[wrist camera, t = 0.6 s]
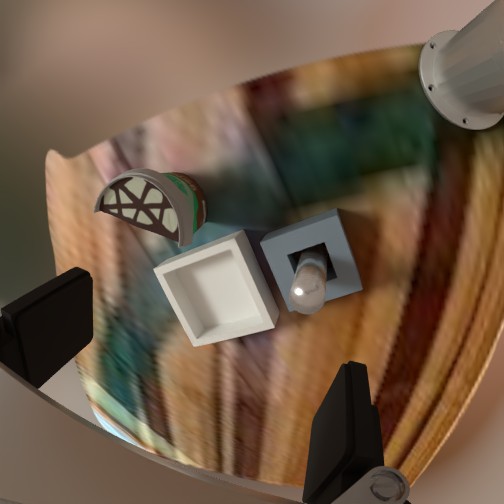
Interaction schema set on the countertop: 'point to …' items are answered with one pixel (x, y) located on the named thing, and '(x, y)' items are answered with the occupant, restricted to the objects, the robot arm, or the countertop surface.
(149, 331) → the countertop surface
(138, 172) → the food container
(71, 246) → the countertop surface
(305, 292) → the steel pin
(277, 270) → the block
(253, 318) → the parts tray
